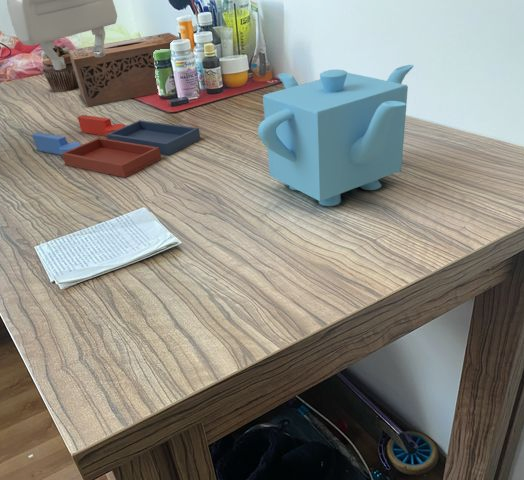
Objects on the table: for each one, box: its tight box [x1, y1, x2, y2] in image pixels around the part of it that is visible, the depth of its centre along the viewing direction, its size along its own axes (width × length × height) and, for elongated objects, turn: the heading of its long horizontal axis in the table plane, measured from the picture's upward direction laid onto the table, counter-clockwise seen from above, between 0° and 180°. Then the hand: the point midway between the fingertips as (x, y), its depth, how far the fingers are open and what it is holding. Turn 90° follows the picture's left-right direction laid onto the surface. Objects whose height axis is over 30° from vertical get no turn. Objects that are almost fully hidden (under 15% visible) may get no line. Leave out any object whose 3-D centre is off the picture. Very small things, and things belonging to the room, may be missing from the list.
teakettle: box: [257, 64, 415, 207], centre depth 68 cm, size 19×19×15 cm
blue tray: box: [106, 120, 202, 156], centre depth 95 cm, size 16×9×2 cm, turn 55°
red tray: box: [61, 137, 162, 178], centre depth 89 cm, size 16×9×2 cm, turn 55°
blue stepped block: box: [31, 131, 83, 156], centre depth 96 cm, size 12×4×3 cm, turn 55°
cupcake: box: [40, 44, 79, 93], centre depth 136 cm, size 10×10×10 cm
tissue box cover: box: [68, 32, 181, 108], centre depth 126 cm, size 26×14×10 cm, turn 112°
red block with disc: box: [76, 114, 126, 137], centre depth 102 cm, size 12×4×3 cm, turn 55°
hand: (81, 62), depth 96 cm, fingers open, 8 cm apart
